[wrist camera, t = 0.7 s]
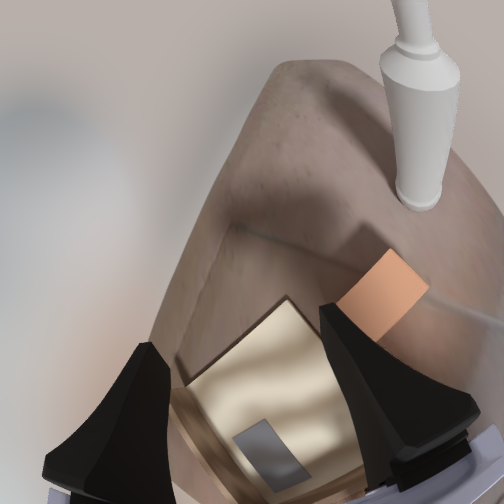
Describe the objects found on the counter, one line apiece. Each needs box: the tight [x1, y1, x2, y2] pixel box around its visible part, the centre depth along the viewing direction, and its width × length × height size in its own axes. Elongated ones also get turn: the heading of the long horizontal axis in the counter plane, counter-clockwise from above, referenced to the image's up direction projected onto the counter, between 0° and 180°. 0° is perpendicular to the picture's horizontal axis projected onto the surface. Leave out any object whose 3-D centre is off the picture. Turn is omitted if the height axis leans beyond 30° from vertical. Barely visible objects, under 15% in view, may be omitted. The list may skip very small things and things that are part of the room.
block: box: [336, 248, 429, 342], centre depth 21 cm, size 8×4×6 cm, turn 128°
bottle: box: [379, 0, 460, 212], centre depth 14 cm, size 5×5×25 cm
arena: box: [169, 300, 368, 504], centre depth 22 cm, size 20×18×5 cm
